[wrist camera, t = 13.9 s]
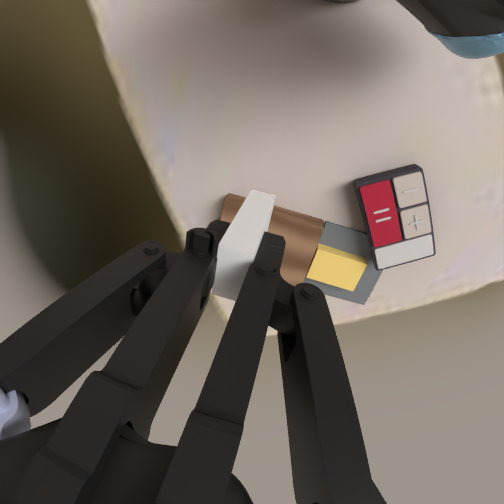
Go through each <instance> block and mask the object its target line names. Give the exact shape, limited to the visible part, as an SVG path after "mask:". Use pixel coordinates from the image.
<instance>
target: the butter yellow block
mask: <svg viewBox="0 0 504 504" xmlns="http://www.w3.org/2000/svg"><path fill="white" fill-rule="evenodd" d="M366 266H367V262H366V258H363V257H360V256H357V255H354V254H350V253H347V252H344V251H341V250H338V249H335V248H332V247H329V246H326V245H322V244H319V243H318V245H317V248H316V250H315V253H314V256H313V258H312V261H311V263H310V266H309V269H308V271H307V274H306V278H310V279H313V280H316V281H320V282H323V283H326V284H330V285H333V286H336V287H340V288H343V289H346V290H350V291H354V289H355V287H356V285H357V283H358V281H359V280H360V278H361V276H362V274H363V272H364V270H365V268H366Z"/></svg>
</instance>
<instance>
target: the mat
mask: <svg viewBox="0 0 504 504" xmlns="http://www.w3.org/2000/svg"><path fill="white" fill-rule="evenodd" d="M318 243H319V244H322V245H326V246H329V247H332V248H335V249H338V250H341V251H344V252H347V253H350V254H354V255H357V256H360V257H363V258H366V262H367V266H366V268H365V270H364V272H363V274H362V276H361V278H360V280H359V281H358V283H357V285H356V287H355V289H354V291H350V290H346V289H343V288H340V287H336V286H333V285H330V284H326V283H323V282H320V281H316V280H313V279H310V278H306V276H305V279H304V281H303V283H310V284H313V285H315V286H317V287H318V288H320V289H321V290H322V292H323V293H324V294H326V295H330V296H334V297H337V298H341V299H345V300H348V301H352V302H356V303H359V304H363V305H364V304H365V302H366V301H367V299H368V297H369V295H370V293H371V292H372V290H373V288H374V286H375V284H376V282H377V280H378V279H379V277H380V275H381V273H382V271H383V270H379V271H377V270H376V269H375V266H374V263H373V260H372V255H371V251H370V246H369V241H368V237H367V234H366V233H363V232H359V231H356V230H353V229H350V228H347V227H344V226H341V225H337V224H334V223H331V222H328V221H326V223H325V226H324V229H323V232H322V234H321V237H320V240H319V242H318Z"/></svg>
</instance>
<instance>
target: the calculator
mask: <svg viewBox="0 0 504 504" xmlns="http://www.w3.org/2000/svg"><path fill="white" fill-rule="evenodd" d="M353 183H354V187H355V190H356V194H357V198H358V201H359V205H360V209H361V212H362V216H363V220H364V224H365V228H366V233H367V237H368V241H369V246H370V251H371V255H372V260H373V263H374V266H375V269H376V270H377V271H379V270H383V269H387V268H390V267H394V266H398V265H402V264H405V263H409V262H413V261H416V260H420V259H423V258H427V257H430V256H434V255H435V242H434V234H433V226H432V219H431V212H430V205H429V200H428V194H427V188H426V183H425V178H424V173H423V169H422V168H421V167H419V166H418V165H416V164H413V165H409V166H405V167H401V168H397V169H393V170H389V171H385V172H382V173H378V174H374V175H370V176H367V177H363V178H359V179H356V180H354V182H353Z"/></svg>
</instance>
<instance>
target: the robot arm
mask: <svg viewBox="0 0 504 504" xmlns="http://www.w3.org/2000/svg"><path fill="white" fill-rule="evenodd" d="M325 1H331V2H353V1H357V0H325ZM396 1H397V2H398V3H400V4H401V5H402V6H403V7H404V8H406V9H407V10H408V11H409V12H410V13H411V14H412V15H413V16H415V17H416V18H417V19H418V20H419V21H420V22H421V23H422V24H423V25H424V27H425V29H426V30H427V31H428V32H429V33H430V34H432V35H433V36H435V37H436V38H437V39H438V40H439V41H440V42H441V43H442V44H443V45H444V46H445V47H446V48H447V49H448V50H450V51H451V52H452V53H454V54H456V55H458V56H460V57H463V58H468V59H479V58H486V57H490V56H494V55H497V54H500V53H502V52H504V0H396ZM275 199H276V195H272V194H268V193H264V192H260V191H257V190H253V189H252V190H251V191H250V193H249V194H248V196H247V198H246V199H245V201H244V203H243V204H242V206H241V208H240V209H239V211H238V213H237V214H236V216H235V218H234V219H233V221H232V223H229V222H225V221H221V220H218V219H217V220H215V221H213V222H211V223H210V224H209V225H208V227H207V229H205V228H193V229H190V230H189V231H187V234H186V247H185V250H184V251H183V252H166V247H165V245H163V244H162V243H160V242H157V241H145V242H142V243H140V244H139V245H137V246H135V247H134V248H132V249H131V250H129V251H128V252H126V253H125V254H123V255H122V256H120V257H118V258H117V259H115V260H114V261H113V262H111V263H109V264H108V265H106V266H105V267H103V268H102V269H100V270H99V271H98V272H96V273H95V274H93V275H92V276H90V277H89V278H87V279H86V280H84V281H83V282H82V283H80V284H79V285H77V286H76V287H74V288H73V289H72V290H70V291H69V292H67V293H66V294H65V295H63V296H62V297H60V298H59V299H58V300H56V301H55V302H54V303H52V304H51V305H50V306H48V307H47V308H45V309H44V310H43V311H41V312H40V313H39V314H37V315H36V316H35V317H34V318H32V319H31V320H30V321H28V322H27V323H26V324H24V325H23V326H22V327H21V328H19V329H18V330H17V331H15V332H14V333H13V334H12V335H11V336H9V337H8V338H7V339H6V340H4V341H3V342H2V343H0V504H253V502H252V500H251V498H250V496H249V494H248V493H247V491H246V489H245V487H244V486H243V485H242V483H241V482H240V481H239V480H238V479H237V478H236V476H234V475H233V474H232V473H231V472H232V469H233V465H234V462H235V458H236V455H237V451H238V447H239V444H240V440H241V436H242V432H243V427H244V420H245V416H246V412H247V408H248V404H249V401H250V396H251V393H252V389H253V385H254V381H255V377H256V373H257V369H258V365H259V361H260V357H261V353H262V349H263V345H264V341H265V337H266V333H267V328H268V326H270V327H272V328H274V329H276V330H277V331H278V334H277V336H278V343H279V353H280V362H281V369H282V379H283V388H284V397H285V407H286V416H287V426H288V435H289V445H290V455H291V466H292V476H293V486H294V493H295V499H296V503H297V504H387V503H386V502H385V500H384V498H383V497H382V495H381V493H380V492H379V490H378V489H377V487H376V485H375V484H374V482H373V480H372V479H371V474H370V469H369V464H368V459H367V454H366V450H365V445H364V441H363V436H362V432H361V428H360V424H359V419H358V415H357V411H356V407H355V403H354V399H353V395H352V391H351V387H350V383H349V379H348V376H347V372H346V368H345V364H344V361H343V357H342V353H341V350H340V346H339V343H338V339H337V336H336V332H335V329H334V325H333V322H332V318H331V315H330V312H329V308H328V305H327V302H326V299H325V295H324V293H323V292H322V290H321V289H320V288H318V287H317V286H315V285H313V284H310V283H299V284H296V286H293V285H291V284H289V283H288V282H286V281H285V280H284V279H283V278H282V276H281V274H280V268H281V264H282V259H283V254H284V250H285V245H286V241H285V239H284V237H283V236H280V235H276V234H273V233H269V232H267V231H268V227H269V223H270V219H271V215H272V211H273V207H274V203H275ZM211 289H212V294H214V295H218V296H221V297H224V298H228V299H231V300H235V301H236V302H235V305H234V308H233V310H232V313H231V315H230V318H229V321H228V323H227V326H226V329H225V331H224V334H223V336H222V339H221V342H220V344H219V347H218V349H217V352H216V355H215V357H214V360H213V363H212V365H211V368H210V371H209V373H208V376H207V378H206V381H205V383H204V386H203V389H202V391H201V394H200V396H199V399H198V402H197V404H196V407H195V409H194V410H193V411H192V412H191V414H190V416H189V418H188V420H187V423H186V425H185V428H184V431H183V433H182V436H181V438H180V441H179V443H178V446H169V445H162V444H155V443H151V442H149V441H148V437H149V434H150V427H151V424H152V421H153V419H154V417H155V414H156V412H157V410H158V408H159V405H160V403H161V401H162V399H163V397H164V394H165V392H166V390H167V388H168V386H169V384H170V381H171V379H172V377H173V375H174V373H175V371H176V369H177V366H178V364H179V362H180V360H181V358H182V355H183V354H184V351H185V349H186V347H187V345H188V343H189V341H190V338H191V336H192V334H193V332H194V330H195V328H196V326H197V324H198V322H199V319H200V317H201V315H202V313H203V311H204V309H205V307H206V305H207V303H208V300H209V293H210V291H211ZM124 335H125V336H124ZM123 336H124V337H123ZM122 337H123V339H122V341H121V342H120V344H119V345H118V347H117V348H116V350H115V351H114V353H113V354H112V356H111V358H110V359H109V361H108V362H107V364H106V366H105V367H104V368H103V370H101V371H94V372H92V373H91V374H90V375H89V376H88V377H87V378H86V380H85V382H84V383H83V385H82V386H81V388H80V390H79V391H78V393H77V394H76V396H75V398H74V399H73V401H72V403H71V404H70V406H69V408H68V409H67V411H66V413H65V414H64V416H63V418H60V419H58V420H55V421H52V422H50V423H47V424H45V425H42V426H39V427H37V428H34V429H31V430H30V428H31V423H30V417H32V416H34V415H36V414H38V413H39V412H41V411H42V410H43V409H45V408H46V407H47V406H49V405H50V404H51V403H52V402H54V401H55V400H56V399H57V398H58V397H59V396H60V395H61V394H62V393H63V392H64V391H65V390H66V389H67V388H68V387H69V386H70V385H72V384H73V383H74V382H75V381H76V380H77V379H78V378H79V377H80V376H81V375H82V374H83V373H84V372H85V371H86V370H87V369H89V368H90V367H91V366H92V365H93V364H94V363H95V362H96V361H97V360H98V359H99V358H100V357H101V356H103V354H105V353H106V352H107V351H108V350H109V349H110V348H111V347H112V346H113V345H114V344H116V342H118V341H119V340H120V339H121V338H122Z"/></svg>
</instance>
